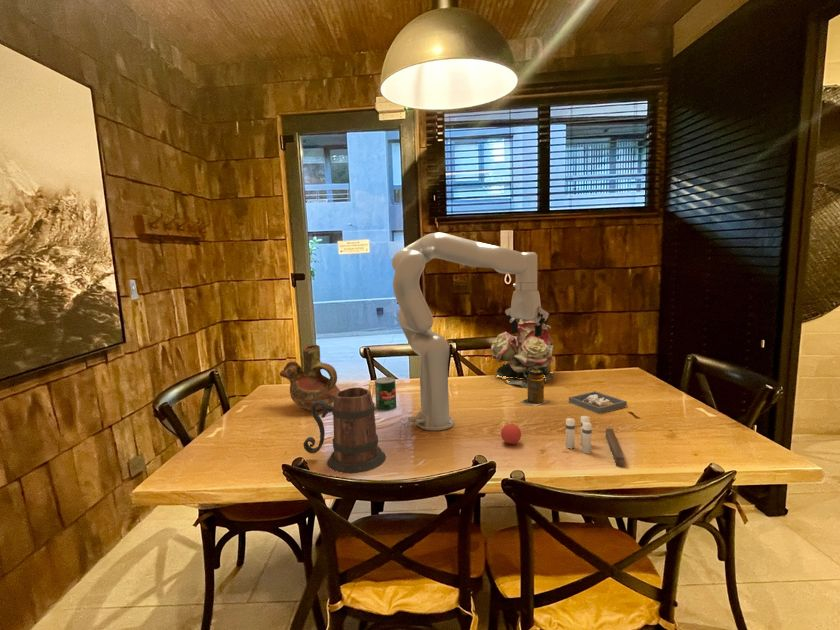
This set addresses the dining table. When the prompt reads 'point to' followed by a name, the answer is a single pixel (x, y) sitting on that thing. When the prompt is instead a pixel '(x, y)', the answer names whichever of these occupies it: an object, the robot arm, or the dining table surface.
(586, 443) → the back right pin
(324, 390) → the ceramic vessel
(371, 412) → the tankard
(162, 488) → the dining table surface
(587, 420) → the back left pin
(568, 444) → the front pin
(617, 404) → the grey square tray
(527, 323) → the rose bouquet
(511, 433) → the ball
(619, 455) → the wall
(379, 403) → the canned tomato
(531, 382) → the condiment
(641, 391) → the dining table surface
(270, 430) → the dining table surface
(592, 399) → the anatomical pelvis
